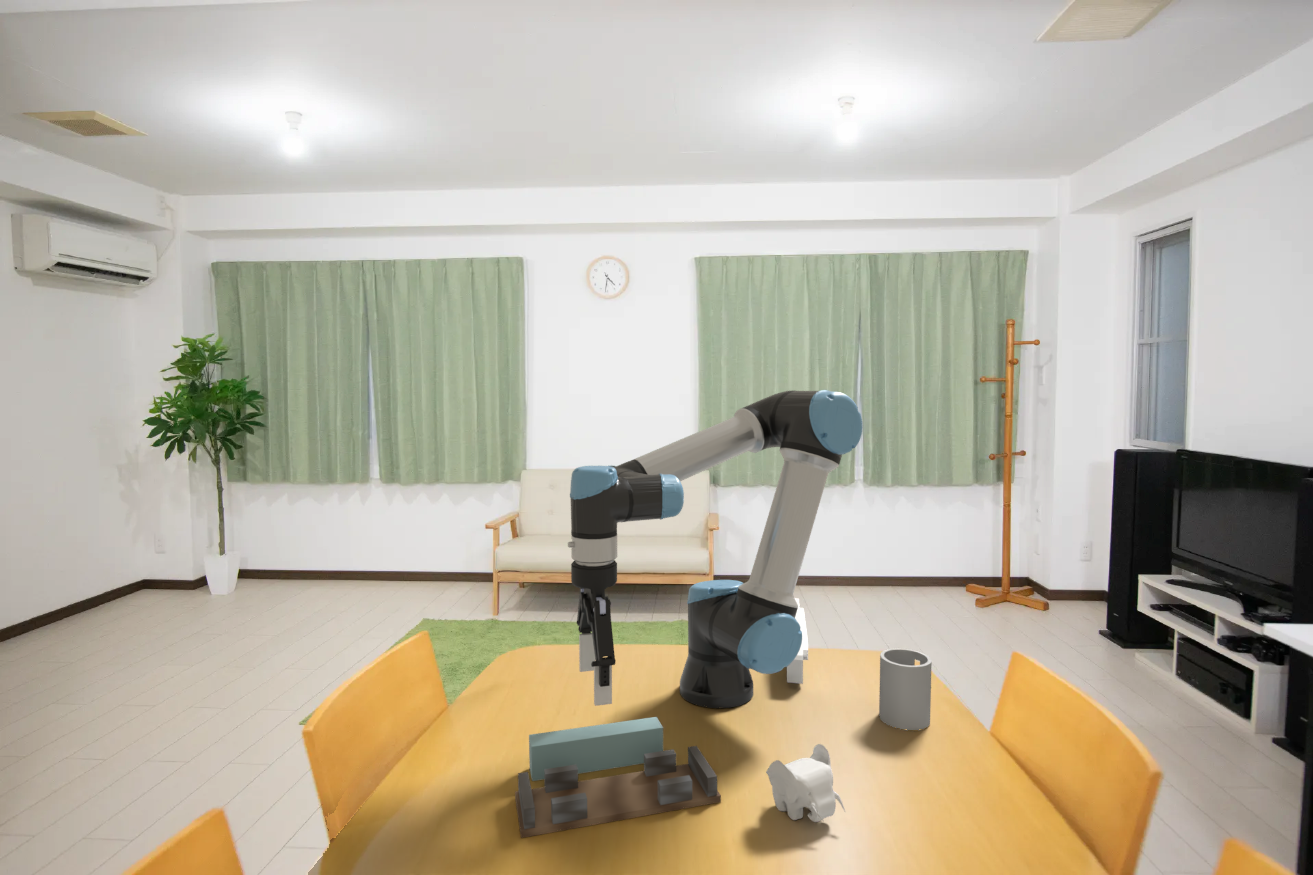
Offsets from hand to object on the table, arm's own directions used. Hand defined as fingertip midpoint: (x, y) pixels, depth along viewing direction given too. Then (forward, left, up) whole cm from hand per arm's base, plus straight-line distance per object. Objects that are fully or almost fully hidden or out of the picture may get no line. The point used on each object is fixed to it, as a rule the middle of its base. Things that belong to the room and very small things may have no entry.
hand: (594, 686), depth 117 cm
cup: (-59, +1, -14) cm, 61 cm away
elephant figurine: (-27, +22, -14) cm, 38 cm away
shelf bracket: (-51, -28, -14) cm, 60 cm away
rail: (0, 0, -14) cm, 14 cm away
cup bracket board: (-1, +11, -13) cm, 17 cm away
